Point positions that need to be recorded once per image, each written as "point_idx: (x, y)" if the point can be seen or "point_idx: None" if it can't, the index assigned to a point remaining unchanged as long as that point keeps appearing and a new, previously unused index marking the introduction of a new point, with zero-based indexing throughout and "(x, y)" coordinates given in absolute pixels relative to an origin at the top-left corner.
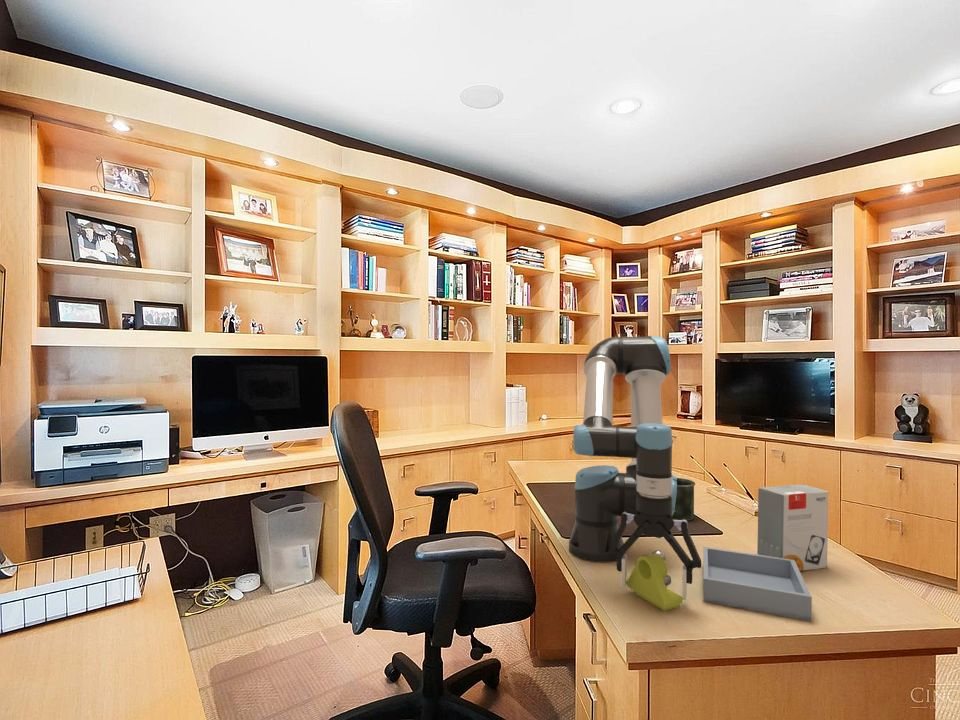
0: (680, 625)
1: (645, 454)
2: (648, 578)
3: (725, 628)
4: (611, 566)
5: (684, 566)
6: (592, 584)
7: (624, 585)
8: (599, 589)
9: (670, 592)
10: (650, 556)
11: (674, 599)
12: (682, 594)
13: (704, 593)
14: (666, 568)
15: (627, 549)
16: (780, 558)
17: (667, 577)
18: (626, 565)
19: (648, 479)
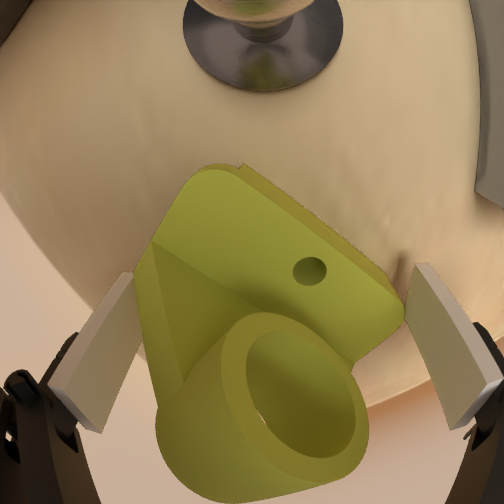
0: (365, 374)
1: None
2: (252, 387)
3: None
4: (33, 38)
5: (480, 400)
6: (40, 246)
7: None
8: (72, 272)
9: (359, 292)
10: (251, 497)
11: (369, 340)
12: (409, 327)
13: (496, 204)
14: (363, 430)
15: (92, 488)
16: None
17: (317, 5)
18: (96, 347)
19: None
